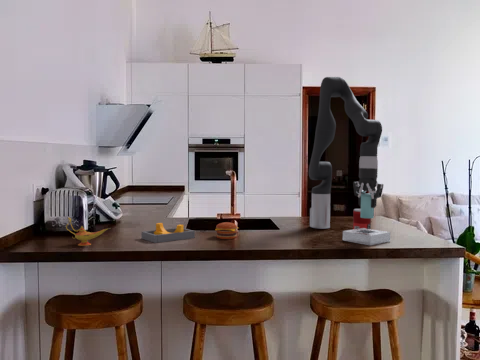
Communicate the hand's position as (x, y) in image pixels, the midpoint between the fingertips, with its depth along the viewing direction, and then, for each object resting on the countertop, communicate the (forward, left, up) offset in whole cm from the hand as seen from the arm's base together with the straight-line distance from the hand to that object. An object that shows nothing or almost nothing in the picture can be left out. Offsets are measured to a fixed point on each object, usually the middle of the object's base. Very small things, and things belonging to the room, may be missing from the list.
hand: (367, 206), depth 191 cm
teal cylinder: (0, 0, -5) cm, 5 cm away
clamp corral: (-56, -64, -15) cm, 86 cm away
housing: (0, 0, -15) cm, 15 cm away
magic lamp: (-63, -97, -15) cm, 116 cm away
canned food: (-14, +16, -15) cm, 26 cm away
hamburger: (-43, -42, -15) cm, 62 cm away
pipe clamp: (-56, -64, -15) cm, 86 cm away
